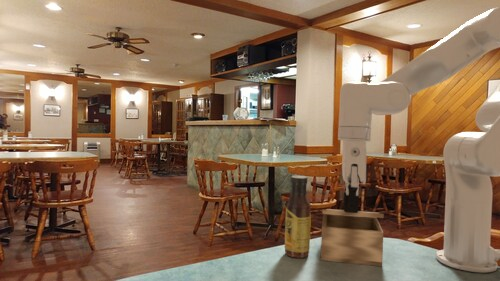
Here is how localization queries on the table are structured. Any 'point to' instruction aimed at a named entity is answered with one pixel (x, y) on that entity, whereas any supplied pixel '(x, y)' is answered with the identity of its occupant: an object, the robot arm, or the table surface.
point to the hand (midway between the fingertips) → (350, 209)
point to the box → (352, 239)
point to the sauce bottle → (297, 219)
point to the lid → (360, 213)
